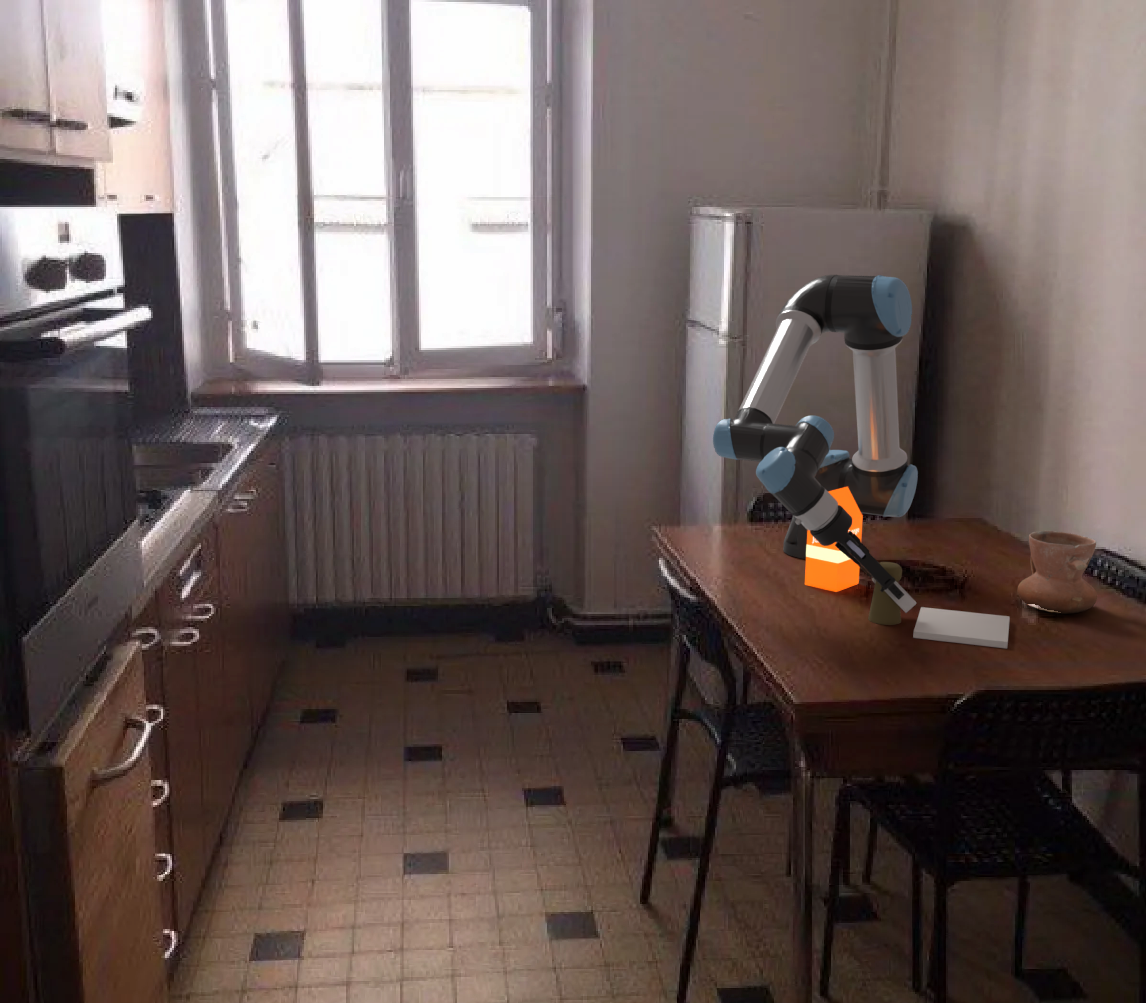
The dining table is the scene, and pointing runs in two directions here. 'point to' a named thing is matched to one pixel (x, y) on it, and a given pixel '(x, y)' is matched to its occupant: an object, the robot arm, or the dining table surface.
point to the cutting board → (962, 627)
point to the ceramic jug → (1059, 572)
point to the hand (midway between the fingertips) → (904, 602)
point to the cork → (885, 600)
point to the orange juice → (834, 552)
